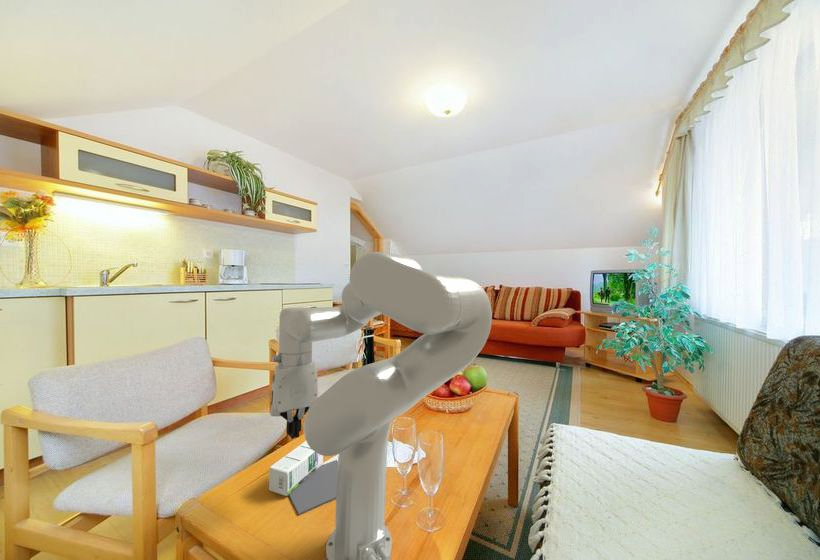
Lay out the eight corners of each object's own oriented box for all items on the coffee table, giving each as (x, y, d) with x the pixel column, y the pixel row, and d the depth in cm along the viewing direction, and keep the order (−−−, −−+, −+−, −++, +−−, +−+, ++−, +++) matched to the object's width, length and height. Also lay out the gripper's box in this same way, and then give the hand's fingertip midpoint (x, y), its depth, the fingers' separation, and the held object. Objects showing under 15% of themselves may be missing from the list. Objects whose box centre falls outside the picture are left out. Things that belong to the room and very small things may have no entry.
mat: (359, 488, 74) (359, 486, 74) (298, 515, 65) (298, 513, 65) (336, 461, 85) (336, 459, 85) (281, 481, 76) (281, 479, 76)
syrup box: (287, 472, 70) (325, 442, 83) (268, 466, 72) (308, 438, 85) (286, 497, 69) (324, 463, 83) (267, 490, 71) (307, 458, 85)
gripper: (265, 366, 63) (262, 453, 63) (331, 357, 72) (329, 433, 72) (258, 360, 69) (255, 439, 68) (319, 352, 78) (318, 422, 78)
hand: (293, 435), depth 70 cm, fingers closed
